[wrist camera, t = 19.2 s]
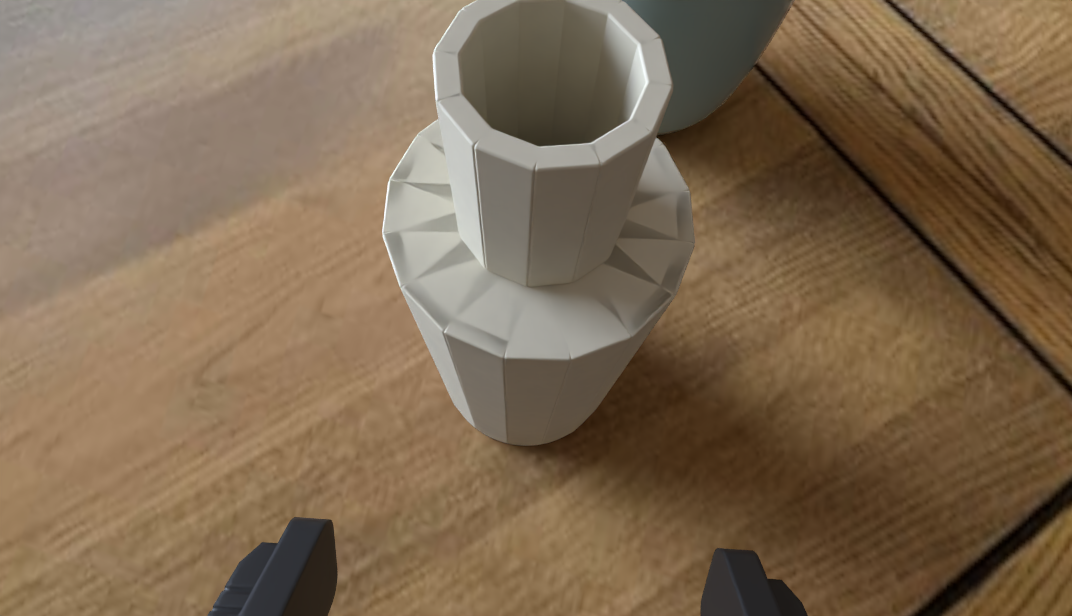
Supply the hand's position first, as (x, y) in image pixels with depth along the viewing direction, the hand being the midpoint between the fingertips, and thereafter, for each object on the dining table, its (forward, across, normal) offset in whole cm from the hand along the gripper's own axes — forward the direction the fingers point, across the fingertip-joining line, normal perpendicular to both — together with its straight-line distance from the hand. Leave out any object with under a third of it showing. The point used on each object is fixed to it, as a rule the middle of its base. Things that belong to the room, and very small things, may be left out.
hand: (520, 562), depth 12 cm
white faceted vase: (+11, 0, +2) cm, 11 cm away
